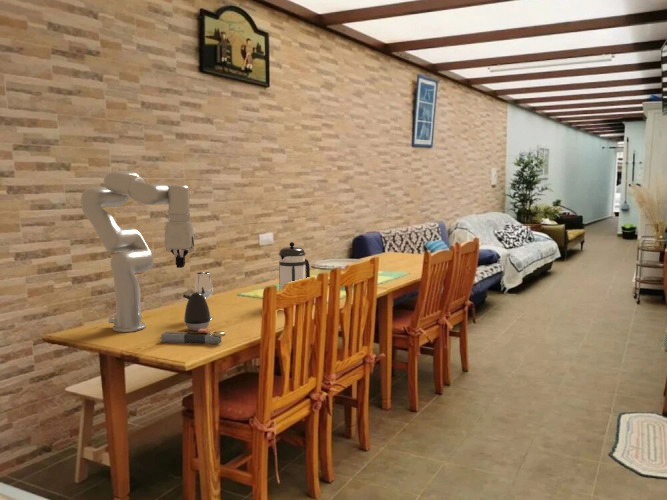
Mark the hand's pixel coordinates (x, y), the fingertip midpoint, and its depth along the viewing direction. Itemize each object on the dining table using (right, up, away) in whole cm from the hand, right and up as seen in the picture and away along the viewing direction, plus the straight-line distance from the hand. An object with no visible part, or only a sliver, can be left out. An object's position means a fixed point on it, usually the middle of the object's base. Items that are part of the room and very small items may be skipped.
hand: (180, 267), depth 214 cm
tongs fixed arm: (+6, -28, -2) cm, 28 cm away
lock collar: (+9, -27, +1) cm, 29 cm away
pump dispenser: (+3, -26, +16) cm, 30 cm away
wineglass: (+2, -23, +33) cm, 41 cm away
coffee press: (+38, -20, +62) cm, 75 cm away
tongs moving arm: (+4, -28, -3) cm, 28 cm away
